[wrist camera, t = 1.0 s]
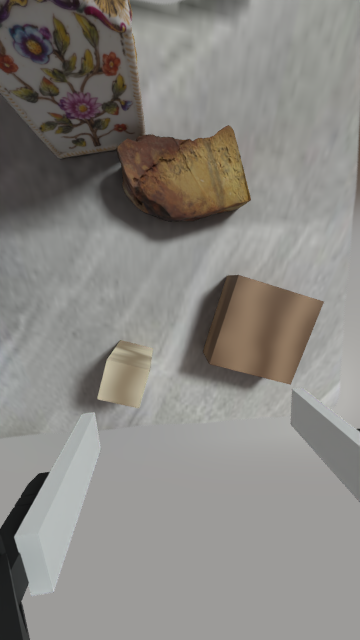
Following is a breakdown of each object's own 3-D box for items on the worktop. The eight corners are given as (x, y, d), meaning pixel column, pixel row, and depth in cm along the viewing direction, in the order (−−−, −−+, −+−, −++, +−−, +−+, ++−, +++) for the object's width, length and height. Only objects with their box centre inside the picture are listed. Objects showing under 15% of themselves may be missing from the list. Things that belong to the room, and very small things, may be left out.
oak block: (112, 370, 33) (97, 399, 25) (120, 340, 32) (106, 359, 25) (144, 378, 34) (139, 408, 26) (153, 348, 33) (149, 370, 25)
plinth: (202, 351, 34) (209, 363, 29) (227, 275, 32) (238, 275, 27) (272, 369, 35) (290, 384, 30) (300, 298, 33) (323, 301, 28)
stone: (234, 142, 29) (248, 113, 24) (241, 216, 31) (256, 204, 26) (121, 158, 28) (111, 132, 23) (134, 232, 30) (128, 224, 25)
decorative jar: (128, 35, 26) (51, -495, 8) (148, 146, 28) (124, -79, 10) (25, 50, 25) (-293, -481, 8) (55, 161, 28) (-137, -47, 10)
